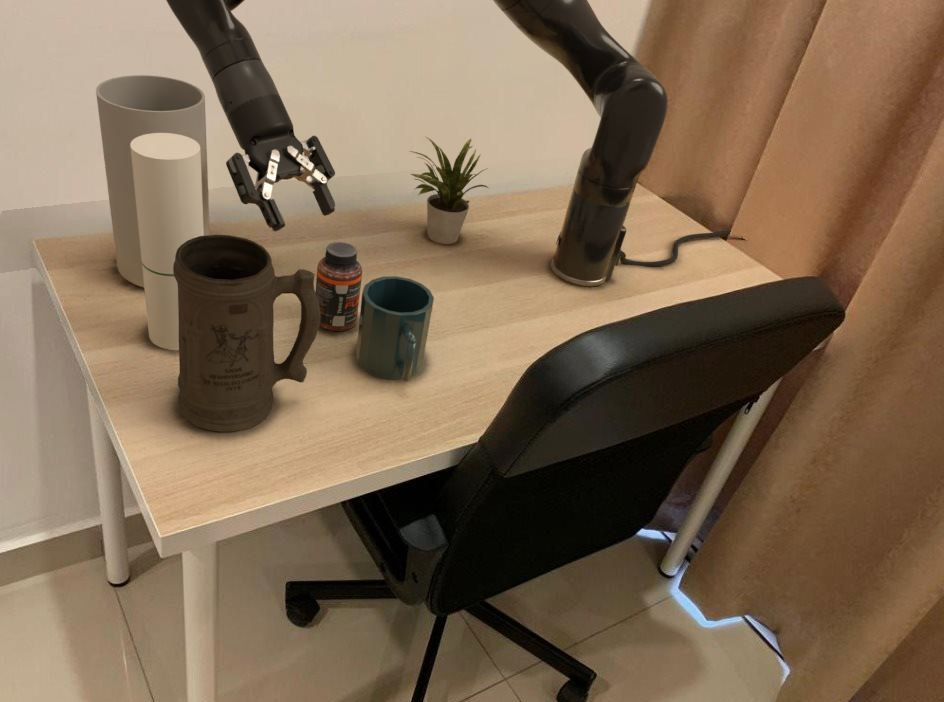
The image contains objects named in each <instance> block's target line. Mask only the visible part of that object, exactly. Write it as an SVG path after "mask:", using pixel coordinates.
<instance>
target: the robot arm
mask: <svg viewBox="0 0 944 702" xmlns="http://www.w3.org/2000/svg"><path fill="white" fill-rule="evenodd" d="M165 1H166V3H167V5H168V6H169V8H170V10H171V12H172V13H173V15H174V16H175V18H176V19H177V21H178V23H179V24H180V25H181V27H182V29H183V30H184V31H185V33H186V35H187V36H188V37H189V38H190V40H191V41H192V42H193V44H194V46H195V47H196V49H197V50H198V52H199V56H200V58H201V60H202V62H203V65H204V67H205V69H206V71H207V73H208V75H209V78H210V80H211V82H212V84H213V87H214V90H215V93H216V97H217V99H218V101H219V104H220V106H221V108H222V110H223V112H224V115H225V117H226V119H227V122H228V124H229V126H230V128H231V130H232V132H233V134H234V136H235V138H236V141H237V143H238V145H239V147H240V148H241V149H242V150H243V151H244V154H242V153H240V152H235V153H234V154H233V155H232V156H230V157H229V159H227V161H226V162H225V166H226V168H227V170H228V173H229V175H230V178H231V181H232V183H233V186H234V188H235V190H236V192H237V195H238V197H239V200H240V202H241V204H242V205H249V204H251V205H252V204H253V205H256V206H257V207H258V208H259V210H260V213H261V215H262V217H263V219H264V221H265V224H266V225H267V227H269V229H272V231H273V232H278V231H280V230H282V229H283V228H285V227H286V222H285V221H284V218H283V216H282V214H281V212H280V210H279V207H278V205H277V203H276V200H275V199H274V198H271V197H272V194H273V187H274V185H275V184H277V183H279V182H280V181H282V180H285V181H286V180H287V181H288V180H291V179H293V178H294V179H296V180H297V181H298V182H303V183H305V184H306V185H307V186H308V187H310V188H311V189H312V194H313V196H314V199H315V201H316V203H317V205H318V207H319V210H320V212H321V214H322V215H323V216H324V217H326V216H329V215H331V214H332V213H334V212H335V211H336V202H335V200H334V197H333V195H332V193H331V191H330V188H329V186H328V182H329V181H330V179H332V178H333V177H335V175H336V171H335V169H334V167H333V165H332V163H331V161H330V159H329V156H328V155H327V152H326V151H325V149H324V147H323V145H322V143H321V141H320V139H319V137H318V136H317V135H311V137H309V138H307V139H306V140H303V141H300V140H299V139H298V138H297V137H296V135H295V132H294V131H295V130H294V124H293V122H292V121H293V120H291V117H290V115H289V113H288V111H287V108H286V106H285V104H284V102H283V99H282V97H281V95H280V93H279V91H278V89H277V86H276V83H275V81H274V79H273V78H272V76H271V74H270V73H269V71H268V70H267V68H266V66H265V64H264V62H263V60H262V58H261V56H260V54H259V50H258V49H257V47H256V44H255V43H254V40H253V38H252V36H251V34H250V33H249V31H248V29H247V27H246V26H245V25H244V23H242V22H241V21H240V20H239V19H238V18H237V17H236V16H235V15H234V14H233V12H232V11H235V9H236V8H238V7H239V6H240V5H241V4H242V3H244V1H245V0H165ZM492 1H493V3H495V5H496V6H497V7H498V9H500V10H501V12H502V13H503V14H504V15H505V16H506V18H507V19H509V20H510V22H511V23H512V24H513V25H514V26H515V27H516V28H517V29H518V30H519V31H520V32H521V33H522V34H523V35H524V36H525V37H526V38H528V40H530V41H531V42H532V43H533V44H534V45H536V46H537V47H538V48H539V49H541V50H542V51H544V52H545V54H547V55H548V56H550V57H551V58H553V59H554V60H556V61H557V62H559V64H561V65H562V66H563V67H564V68H565V70H567V72H568V73H570V75H571V76H572V78H573V79H574V80H575V81H576V83H577V84H578V86H579V87H580V88H581V89H582V91H583V92H584V94H585V95H586V96H587V98H588V99H589V101H590V102H591V103H592V106H593V108H594V109H595V111H596V113H597V115H598V116H599V118H600V119H599V120H600V121H599V124H598V127H597V130H596V133H595V136H594V140H593V142H592V145H591V147H589V148H586V150H584V151H583V153H582V155H581V158H580V162H579V165H578V169H577V172H576V175H575V179H574V183H573V187H572V191H571V194H570V198H569V202H568V205H567V208H566V212H565V215H564V220H563V223H562V227H561V229H560V232H559V234H558V237H557V238H556V242H555V245H556V249H555V252H554V254H553V257H552V260H551V264H550V268H551V271H552V272H553V273H554V274H555V275H556V276H557V277H558V278H560V279H561V280H563V281H565V282H567V283H569V284H573V285H576V286H581V287H597V286H601V285H602V284H604V282H608V281H611V278H612V276H613V273H614V270H615V267H617V266H618V265H619V262H621V263H622V264H625V265H629V266H638V267H646V268H657V267H664V266H668V265H670V264H673V263H674V262H676V260H678V256H679V246H680V244H683V243H685V242H688V241H691V240H698V239H710V238H718V237H724V236H730V235H729V234H730V232H731V230H732V229H725V230H719V231H714V232H701V233H694V234H687V235H684V236H682V237H680V238H678V239H676V240H675V241H674V243H673V246H672V255H671V257H669V258H666V259H663V260H657V261H637V260H631V259H628V258H627V255H626V252H624V251H623V250H621V249H622V246H623V243H624V240H625V237H626V234H627V228H626V227H625V225H624V224H625V221H626V218H627V215H628V211H629V209H630V206H631V202H632V199H633V197H634V196H633V195H634V193H635V190H636V187H637V184H638V181H639V179H640V176H641V175H642V173H643V172H644V171H645V170H646V168H647V167H648V165H649V163H650V161H651V159H652V156H653V153H654V150H655V148H656V145H657V143H658V140H659V137H660V135H661V132H662V129H663V126H664V124H665V120H666V117H667V112H668V106H669V99H668V93H667V91H666V88H665V87H664V86H663V84H662V83H661V81H660V80H659V79H658V78H657V77H656V76H655V75H654V74H653V73H652V72H651V70H649V68H647V66H645V65H644V64H643V63H642V62H640V61H639V60H637V59H636V58H635V57H634V56H633V55H632V54H630V53H629V51H628V50H627V49H625V47H623V46H622V45H621V44H620V43H619V42H618V40H616V39H615V38H614V37H613V36H612V35H611V34H610V33H609V31H607V30H606V28H605V27H604V26H603V25H602V23H601V21H600V20H599V19H598V17H597V15H596V13H595V11H594V10H593V8H592V6H591V4H590V2H589V0H492ZM306 157H307V158H306ZM250 168H251V169H252V170H254V171H255V172H256V177H255V184H254V181H253V179H252V176H251V174H250V172H249V169H250ZM301 168H302V169H301Z"/></svg>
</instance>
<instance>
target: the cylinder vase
mask: <svg viewBox="0 0 944 702" xmlns="http://www.w3.org/2000/svg"><path fill="white" fill-rule="evenodd" d="M95 95H96V101H97V111H98V118H99V127H100V128H99V129H100V133H101V134H100V136H101V143H102V152H103V160H104V168H105V175H106V184H107V193H108V201H109V211H110V217H111V227H112V234H113V235H112V236H113V242H114V244H113V245H114V252H115V259H116V266H117V267H116V268H117V270H118V272H119V273H120V275H121V276H122V277H123V278H124V280H126V281H127V282H129V283H132V284H133V285H134V286H138V287H141V288H144V279H143V269H142V259H141V249H140V239H139V229H138V218H137V208H136V198H135V188H134V177H133V167H132V157H131V146H130V143H131V141H132V140H133V139H135V138H137V137H139V136H142V135H145V134H151V133H172V134H178V135H183V136H186V137H189V138H191V139H193V140H195V141H196V142H197V143H199V145H200V152H201V177H202V202H203V227H204V236H206V235H211V234H210V233H211V231H210V205H209V203H210V202H209V201H210V200H209V176H208V175H209V174H208V173H209V172H208V148H207V147H208V145H207V143H208V142H207V116H206V95H205V93H204V91H203V90H202V89H201V88H200V87H197V85H194V84H192V83H189V82H187V81H184V80H181V79H177V78H172V77H167V76H160V75H149V74H147V75H146V74H136V75H123V76H116V77H112V78H109V79H107V80H104V81H102V82H101V83H99V84H98V85H97V86H96V88H95Z"/></svg>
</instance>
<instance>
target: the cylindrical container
mask: <svg viewBox="0 0 944 702" xmlns="http://www.w3.org/2000/svg"><path fill="white" fill-rule="evenodd" d="M130 146H131V157H132V167H133V177H134V188H135V198H136V208H137V218H138V229H139V239H140V249H141V259H142V269H143V279H144V287H143V289H144V298H145V308H146V319H147V320H146V321H147V330H148V338H149V340H150V341H151V343H152V344H154V345H155V346H157V347H159V348H161V349H164V350H169V351H179V315H178V283H177V281H176V279H175V277H174V274H173V266H174V262H175V256H176V252H177V249H178V248H179V247H180V246H181V245H182V244H183V243H185V242H186V241H188V240H190V239H193V238H196V237H199V236H204V227H203V202H202V177H201V152H200V145H199V143H197V142H196V141H195V140H193V139H191V138H189V137H186V136H183V135H178V134H172V133H151V134H145V135H142V136H139V137H137V138H135V139H133V140H132V141H131V143H130Z"/></svg>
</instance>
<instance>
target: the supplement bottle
mask: <svg viewBox="0 0 944 702" xmlns="http://www.w3.org/2000/svg"><path fill="white" fill-rule="evenodd" d="M357 259H358V249H357V248H356V246H354V245H353V244H351V243H348V242H344V241H334V242H330V243H329V244H327V246H326V248H325V254H324V256H323V257H322V258H321V259H320V260H319V261H318V263H317V267H316V281H315V293H316V296H317V299H318V302H319V307H320V315H321V318H320V325H319V327H321V328H323V329H325V330H329V331H333V332H342V331H348V330H350V329H351V328H353V327H354V326H355V325H356V323H357V320H358V314H359V303H360V297H361V296H360V294H361V287H362V278H363V277H362V276H363V267H362V264H361V263H360V262H359V261H358V260H357Z"/></svg>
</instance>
